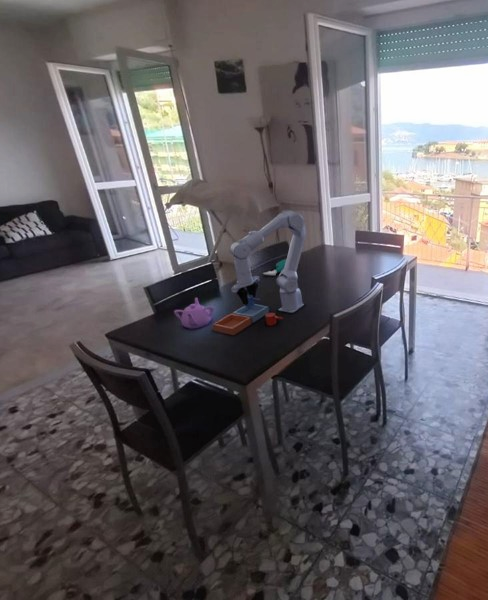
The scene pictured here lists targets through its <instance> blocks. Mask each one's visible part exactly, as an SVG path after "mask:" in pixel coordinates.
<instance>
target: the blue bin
mask: <svg viewBox="0 0 488 600" xmlns="http://www.w3.org/2000/svg"><path fill="white" fill-rule="evenodd" d="M254 304H255V305H254V306H251V307H245V305H243V306H241V307H239V308H238V309H236V310H235V311H233V312H232V314H236V315H241V316H246V317H251V321H252V324H253V323H255V322H257V321H258V320H260V319H262V318H263V317H265V315H266V314H268V313H270V308H269V306H268V305H263V304H256V303H254Z"/></svg>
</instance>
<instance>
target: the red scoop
mask: <svg viewBox="0 0 488 600" xmlns="http://www.w3.org/2000/svg"><path fill="white" fill-rule="evenodd" d="M264 317H265V321H266V322H265V323H266V325H267V326H275V325H276V324H277V320H283V319H284V318H283V317H282V316H278V315H276V313H275V312H269V313H267V314H266V315H264Z"/></svg>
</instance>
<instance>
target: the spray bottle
mask: <svg viewBox="0 0 488 600" xmlns="http://www.w3.org/2000/svg"><path fill="white" fill-rule="evenodd" d="M286 260H287V258H284V259H281V260H280V261H278V262H277V263H276V264H275V269H273V270H271V271H270V270H268V271H266V272H263V273H262V274H263V275H265V276H276V274H280V273H281V271H282V270H283V269H284V267H285V263H286Z"/></svg>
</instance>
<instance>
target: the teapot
mask: <svg viewBox="0 0 488 600" xmlns="http://www.w3.org/2000/svg"><path fill="white" fill-rule="evenodd" d="M214 310H215V308H214V306H213V305H208V306H203V304H200V302H199V298H198V297H194V303H191V304H189V305H188V306H186V307H185V308H184V309H175V310H174V311H173V313H174V316H176V317H177V318H178V319H179V321H180V323H181V325H182V326H183V327H184V328H186V329H190V330H193V329H200V328H203V327H205V326H207V325H209V323H211V321H212V315H213V313H214ZM180 313H182V314H181V315H180Z"/></svg>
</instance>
